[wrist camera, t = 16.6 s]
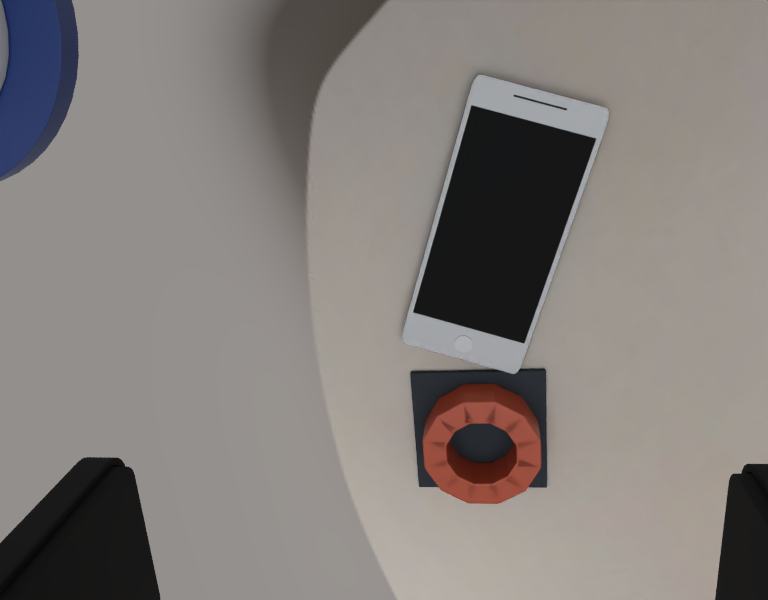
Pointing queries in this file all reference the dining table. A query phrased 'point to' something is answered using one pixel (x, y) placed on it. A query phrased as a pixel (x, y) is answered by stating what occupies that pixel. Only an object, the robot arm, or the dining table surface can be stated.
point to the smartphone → (502, 221)
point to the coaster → (478, 438)
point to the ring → (482, 477)
